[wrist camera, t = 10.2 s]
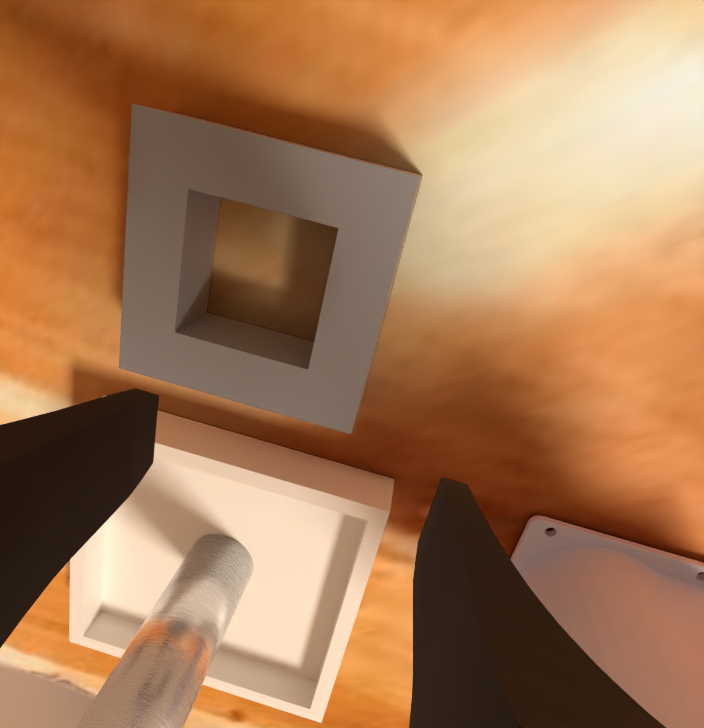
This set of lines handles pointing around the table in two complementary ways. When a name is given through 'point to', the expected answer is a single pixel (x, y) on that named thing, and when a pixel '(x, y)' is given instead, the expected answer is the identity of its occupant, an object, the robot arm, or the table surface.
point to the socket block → (196, 252)
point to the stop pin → (175, 641)
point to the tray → (266, 546)
